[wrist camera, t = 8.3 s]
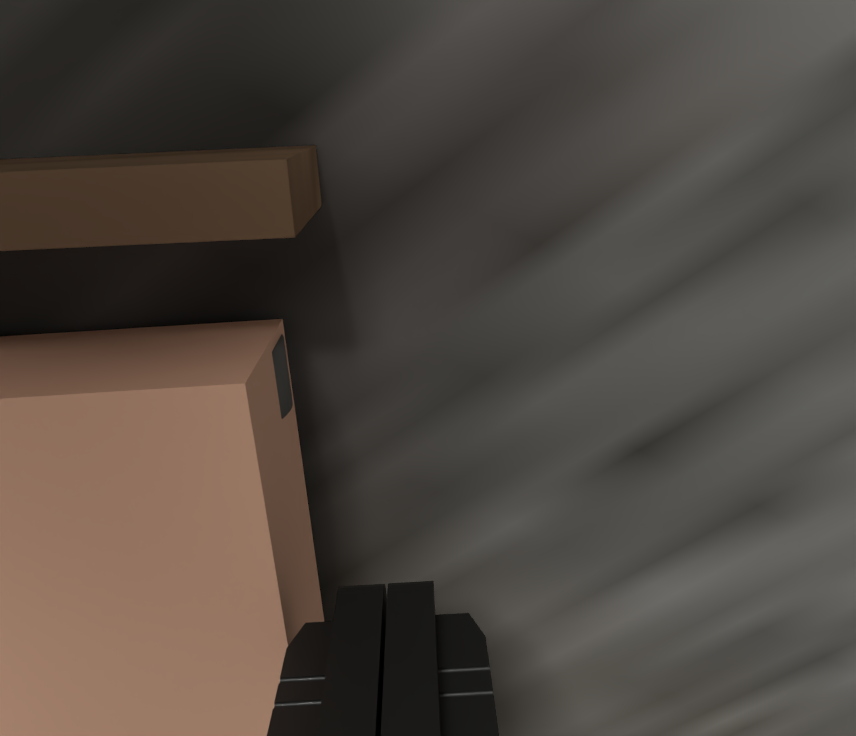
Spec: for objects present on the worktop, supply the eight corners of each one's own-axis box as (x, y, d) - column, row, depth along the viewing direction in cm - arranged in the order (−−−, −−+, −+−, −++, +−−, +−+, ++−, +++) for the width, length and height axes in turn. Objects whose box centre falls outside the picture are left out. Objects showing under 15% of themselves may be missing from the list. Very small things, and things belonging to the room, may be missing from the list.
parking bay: (-314, 173, 12) (-545, 197, 9) (316, 145, 12) (286, 158, 9) (-55, 809, 17) (-146, 949, 14) (376, 787, 17) (369, 921, 14)
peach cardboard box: (-103, 335, 13) (-279, 416, 9) (292, 310, 13) (252, 382, 9) (39, 741, 16) (-55, 902, 13) (347, 722, 16) (331, 877, 13)
